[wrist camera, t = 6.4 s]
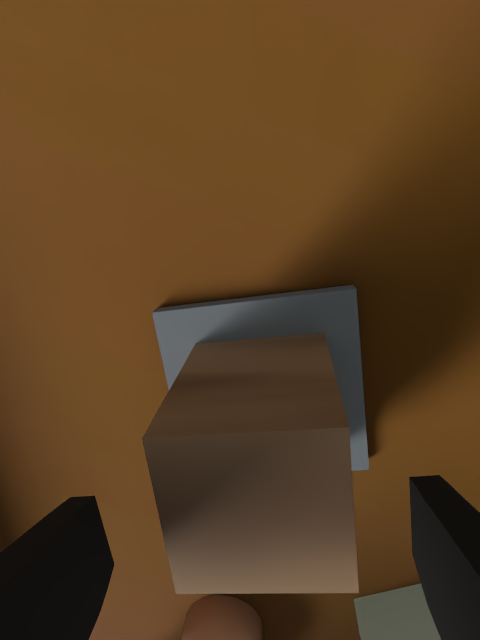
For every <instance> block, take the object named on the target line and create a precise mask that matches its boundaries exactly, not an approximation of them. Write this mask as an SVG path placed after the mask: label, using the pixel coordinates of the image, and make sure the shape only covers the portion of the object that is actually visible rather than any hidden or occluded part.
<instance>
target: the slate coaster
mask: <svg viewBox="0 0 480 640" xmlns="http://www.w3.org/2000/svg"><path fill="white" fill-rule="evenodd" d="M152 314H153V319H154V324H155V328H156V333H157V338H158V342H159V347H160V352H161V356H162V361H163V366H164V370H165V375H166V380H167V384H168V389H169V390H170V388H171V386H172V384H173V383H174V381H175V379H176V377H177V376H178V374H179V372H180V370H181V368H182V367H183V365H184V363H185V361H186V359H187V358H188V356H189V354H190V352H191V351H192V349H193V347H194V345H195V343H206V342H218V341H230V340H242V339H253V338H265V337H277V336H289V335H301V334H313V333H324V334H325V338H326V342H327V345H328V349H329V353H330V357H331V360H332V364H333V368H334V372H335V375H336V379H337V383H338V387H339V390H340V394H341V398H342V402H343V405H344V409H345V413H346V417H347V420H348V424H349V431H350V448H351V466H352V471H356V470H369V461H368V446H367V432H366V418H365V404H364V390H363V376H362V362H361V347H360V333H359V319H358V305H357V291H356V287H355V286H354V285H346V286H337V287H329V288H321V289H312V290H304V291H295V292H287V293H279V294H270V295H262V296H253V297H245V298H237V299H228V300H220V301H211V302H203V303H195V304H186V305H178V306H169V307H161V308H156V309H155V310H154V311H153V312H152Z"/></svg>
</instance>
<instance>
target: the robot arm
mask: <svg viewBox="0 0 480 640" xmlns="http://www.w3.org/2000/svg"><path fill="white" fill-rule="evenodd" d="M409 480H410V504H411V528H412V552H413V557H414V560H415V564H416V567H417V571H418V575H419V578H420V582H421V585H422V588H423V592H424V595H425V599H426V602H427V605H428V608H429V610H430V613H431V615H432V618H433V621H434V623H435V626H436V628H437V631H438V633H439V636H440V638H441V640H480V513H479V512H478V511H477V510H476V509H475V508H474V507H473V506H472V505H471V504H470V503H469V502H468V501H466V500H465V499H464V498H463V497H462V496H461V495H460V494H459V493H458V492H457V491H456V490H455V489H454V488H453V487H452V486H451V485H450V484H449V483H447V482H446V481H445V480H444V479H443V478H442V477H441V476H439V475H435V476H419V477H409ZM113 567H114V561H113V558H112V554H111V551H110V547H109V544H108V541H107V537H106V534H105V530H104V527H103V523H102V520H101V516H100V513H99V509H98V506H97V502H96V499H95V496H84V497H71V498H69V499H68V500H66V501H65V502H64V503H62V504H61V505H60V506H58V507H57V508H56V509H54V510H53V511H52V512H51V513H49V514H48V515H47V516H46V517H44V518H43V519H42V520H41V521H39V522H38V523H37V524H36V525H34V526H33V527H32V528H31V529H29V530H28V531H27V532H26V533H25V534H23V535H22V536H21V537H20V538H18V539H17V540H16V541H15V542H13V543H12V544H11V545H10V546H9V547H7V548H6V549H5V550H4V551H2V552H1V553H0V640H89V637H90V635H91V633H92V630H93V628H94V625H95V623H96V621H97V618H98V616H99V613H100V611H101V608H102V604H103V601H104V598H105V595H106V592H107V589H108V585H109V581H110V578H111V574H112V571H113Z"/></svg>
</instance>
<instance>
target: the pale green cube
mask: <svg viewBox="0 0 480 640" xmlns="http://www.w3.org/2000/svg"><path fill="white" fill-rule="evenodd" d="M354 604H355V610H356V616H357V622H358V628H359V634H360V640H441V638H440V636H439V633H438V631H437V628H436V626H435V623H434V621H433V618H432V615H431V613H430V610H429V608H428V605H427V602H426V599H425V595H424V592H423V588H422V585H421V583H420V584H416V585H412V586H407V587H403V588H399V589H394V590H390V591H386V592H381V593H377V594H373V595H368V596H364V597H360V598H355V599H354Z"/></svg>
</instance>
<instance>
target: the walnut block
mask: <svg viewBox="0 0 480 640" xmlns="http://www.w3.org/2000/svg"><path fill="white" fill-rule="evenodd" d="M142 440H143V445H144V449H145V454H146V459H147V463H148V468H149V472H150V477H151V481H152V486H153V491H154V495H155V500H156V504H157V509H158V514H159V518H160V523H161V527H162V532H163V537H164V541H165V546H166V550H167V555H168V560H169V564H170V569H171V573H172V578H173V582H174V587H175V592H176V594H266V593H359V588H358V570H357V553H356V535H355V518H354V500H353V483H352V466H351V448H350V431H349V424H348V420H347V417H346V413H345V409H344V405H343V402H342V398H341V394H340V390H339V387H338V383H337V379H336V375H335V372H334V368H333V364H332V360H331V357H330V353H329V349H328V345H327V342H326V338H325V334H324V333H313V334H301V335H289V336H277V337H265V338H253V339H242V340H230V341H218V342H206V343H195V345H194V347H193V349H192V351H191V352H190V354H189V356H188V358H187V359H186V361H185V363H184V365H183V367H182V368H181V370H180V372H179V374H178V376H177V377H176V379H175V381H174V383H173V384H172V386H171V388H170V390H169V392H168V393H167V395H166V397H165V399H164V401H163V402H162V404H161V406H160V408H159V409H158V411H157V413H156V415H155V417H154V418H153V420H152V422H151V424H150V426H149V427H148V429H147V431H146V433H145V434H144V436H143V438H142Z"/></svg>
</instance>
